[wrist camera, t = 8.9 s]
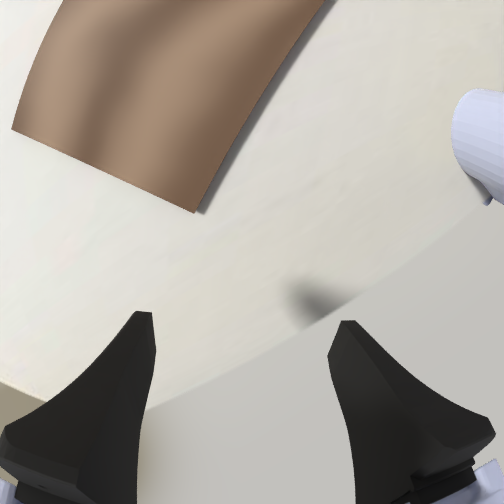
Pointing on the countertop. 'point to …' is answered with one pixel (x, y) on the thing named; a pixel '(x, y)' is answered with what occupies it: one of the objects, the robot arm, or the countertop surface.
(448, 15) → the countertop surface
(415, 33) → the countertop surface
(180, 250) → the countertop surface
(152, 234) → the countertop surface
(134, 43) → the board
